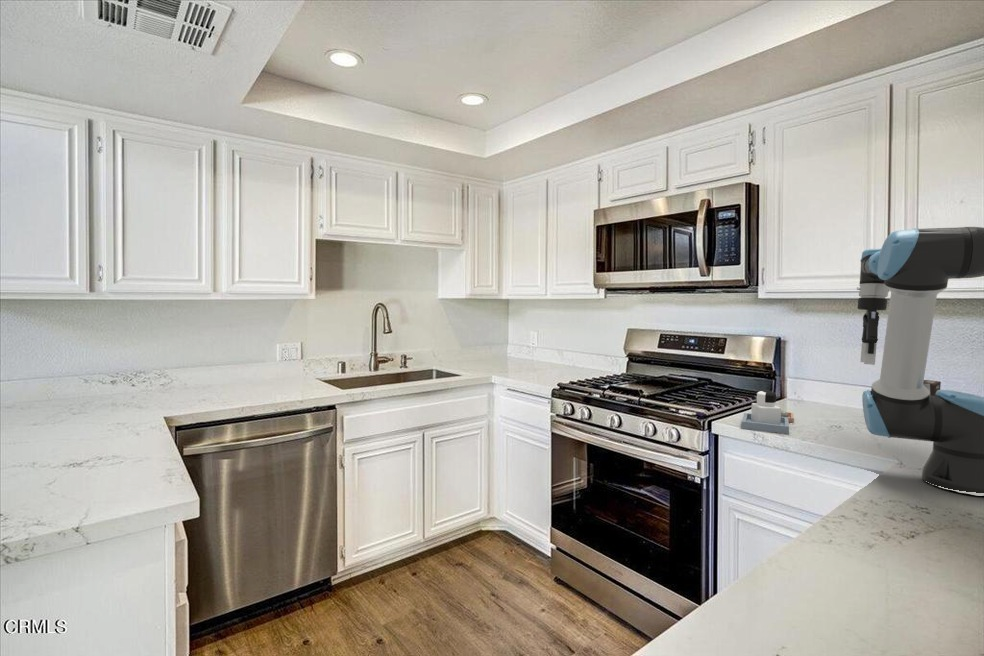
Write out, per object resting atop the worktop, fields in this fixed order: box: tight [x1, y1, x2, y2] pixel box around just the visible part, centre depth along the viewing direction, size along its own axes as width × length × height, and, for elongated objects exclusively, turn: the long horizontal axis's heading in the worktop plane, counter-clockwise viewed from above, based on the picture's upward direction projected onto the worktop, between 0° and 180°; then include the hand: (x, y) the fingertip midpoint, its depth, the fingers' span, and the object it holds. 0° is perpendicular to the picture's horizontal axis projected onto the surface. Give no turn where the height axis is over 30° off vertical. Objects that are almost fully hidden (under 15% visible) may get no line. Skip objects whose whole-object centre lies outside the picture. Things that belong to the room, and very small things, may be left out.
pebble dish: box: [786, 411, 795, 424], centre depth 191 cm, size 10×10×2 cm
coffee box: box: [923, 379, 942, 396], centre depth 182 cm, size 9×6×16 cm
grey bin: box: [741, 412, 790, 435], centre depth 181 cm, size 14×14×3 cm
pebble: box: [781, 410, 788, 417], centre depth 189 cm, size 3×3×3 cm
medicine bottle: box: [750, 390, 782, 425], centre depth 180 cm, size 7×7×12 cm
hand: (867, 363), depth 162 cm, fingers open, 13 cm apart
